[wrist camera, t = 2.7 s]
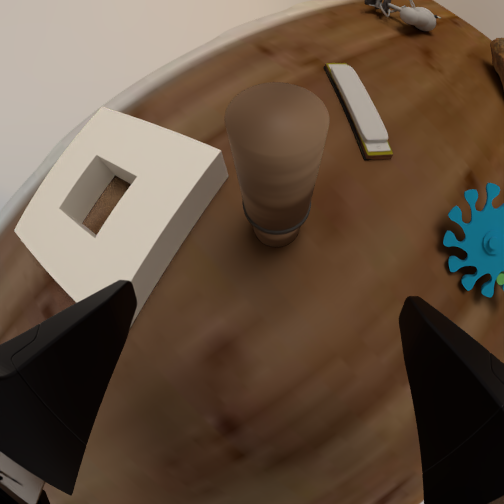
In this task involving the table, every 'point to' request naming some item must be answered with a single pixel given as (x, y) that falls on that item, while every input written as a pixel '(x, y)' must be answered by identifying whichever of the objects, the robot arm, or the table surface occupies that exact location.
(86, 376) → the robot arm
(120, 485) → the table surface
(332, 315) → the table surface
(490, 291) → the gear
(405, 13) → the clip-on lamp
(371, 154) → the harmonica
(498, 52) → the rough brown rock
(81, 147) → the white board
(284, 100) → the walnut peg
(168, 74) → the table surface
